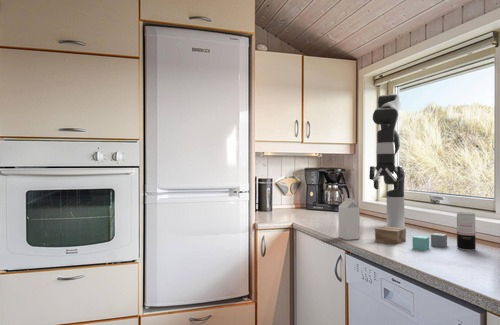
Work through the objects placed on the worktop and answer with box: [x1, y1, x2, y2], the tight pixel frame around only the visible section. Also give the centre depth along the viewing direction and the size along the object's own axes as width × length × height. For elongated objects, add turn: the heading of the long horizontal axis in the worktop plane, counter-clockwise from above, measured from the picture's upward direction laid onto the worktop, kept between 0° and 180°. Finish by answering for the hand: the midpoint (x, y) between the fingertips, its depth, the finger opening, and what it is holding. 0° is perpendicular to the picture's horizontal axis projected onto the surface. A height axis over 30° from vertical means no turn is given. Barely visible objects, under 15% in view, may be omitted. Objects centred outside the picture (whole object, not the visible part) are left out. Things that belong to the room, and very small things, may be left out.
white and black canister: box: [456, 211, 477, 252], centre depth 145 cm, size 7×6×15 cm
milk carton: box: [338, 197, 361, 241], centre depth 167 cm, size 7×7×19 cm
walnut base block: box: [374, 225, 407, 246], centre depth 161 cm, size 10×10×6 cm
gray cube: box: [430, 232, 448, 248], centre depth 151 cm, size 5×5×5 cm
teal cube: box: [412, 235, 430, 252], centre depth 146 cm, size 5×5×5 cm
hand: (385, 189), depth 155 cm, fingers open, 8 cm apart
